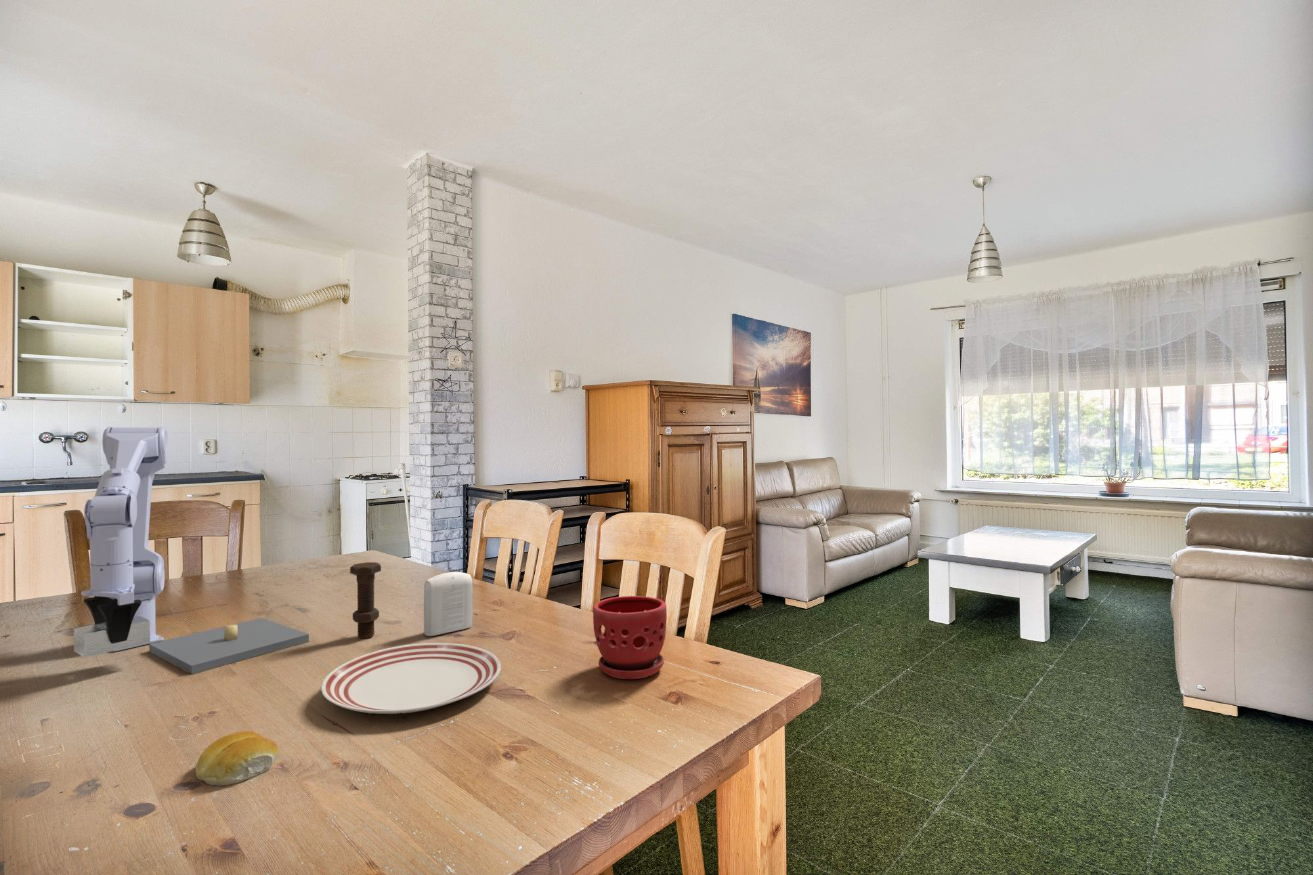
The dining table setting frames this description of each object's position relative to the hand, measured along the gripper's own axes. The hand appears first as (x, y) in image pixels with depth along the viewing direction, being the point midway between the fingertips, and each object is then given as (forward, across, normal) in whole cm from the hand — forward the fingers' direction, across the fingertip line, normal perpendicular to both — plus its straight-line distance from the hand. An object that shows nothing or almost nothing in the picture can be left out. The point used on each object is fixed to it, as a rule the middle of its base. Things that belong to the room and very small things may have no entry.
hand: (112, 638), depth 109 cm
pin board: (+6, +4, +17) cm, 18 cm away
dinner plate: (+6, +52, +25) cm, 58 cm away
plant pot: (+6, +77, +51) cm, 93 cm away
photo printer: (+6, +32, +47) cm, 57 cm away
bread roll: (+6, +54, -2) cm, 55 cm away
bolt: (+6, +21, +35) cm, 41 cm away
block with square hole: (+2, 0, 0) cm, 2 cm away
